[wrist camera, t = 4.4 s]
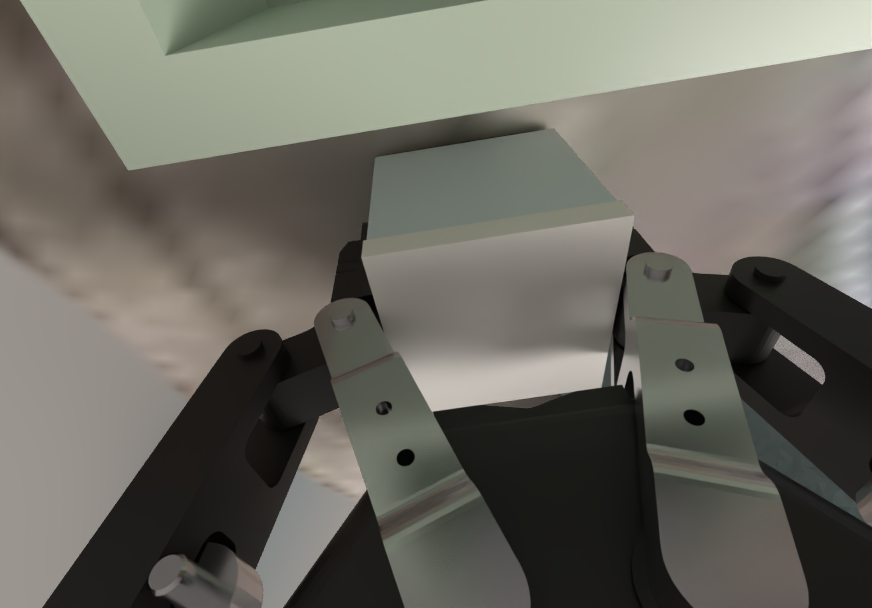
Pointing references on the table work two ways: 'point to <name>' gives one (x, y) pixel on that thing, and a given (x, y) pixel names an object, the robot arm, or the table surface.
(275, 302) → the table surface
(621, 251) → the off-white carton
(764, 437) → the teal cup
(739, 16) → the tote
